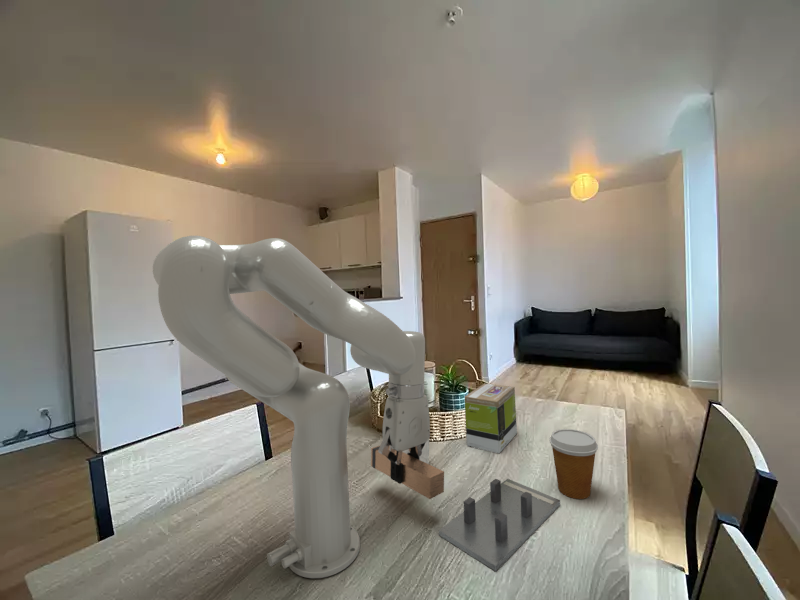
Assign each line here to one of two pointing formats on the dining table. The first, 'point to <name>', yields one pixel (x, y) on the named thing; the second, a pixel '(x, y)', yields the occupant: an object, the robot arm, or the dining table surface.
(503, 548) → the plate
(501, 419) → the tea box
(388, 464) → the wooden beam
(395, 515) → the dining table surface
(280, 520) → the dining table surface
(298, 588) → the dining table surface
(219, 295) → the robot arm
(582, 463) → the disposable coffee cup
